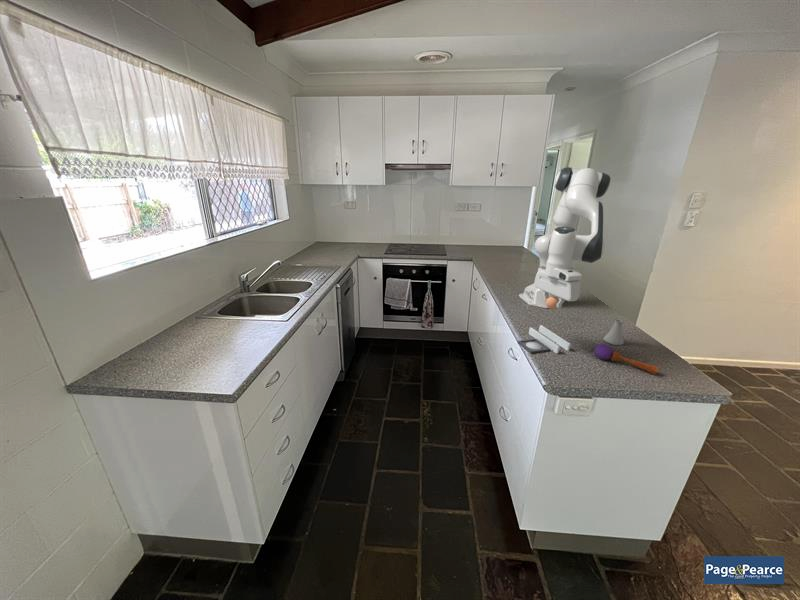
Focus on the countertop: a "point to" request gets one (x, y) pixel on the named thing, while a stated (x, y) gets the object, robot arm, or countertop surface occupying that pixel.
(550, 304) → the ball
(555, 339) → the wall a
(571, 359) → the countertop surface
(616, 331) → the flask
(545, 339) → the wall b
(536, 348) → the gray square tray
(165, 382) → the countertop surface
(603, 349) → the purple and orange maraca
